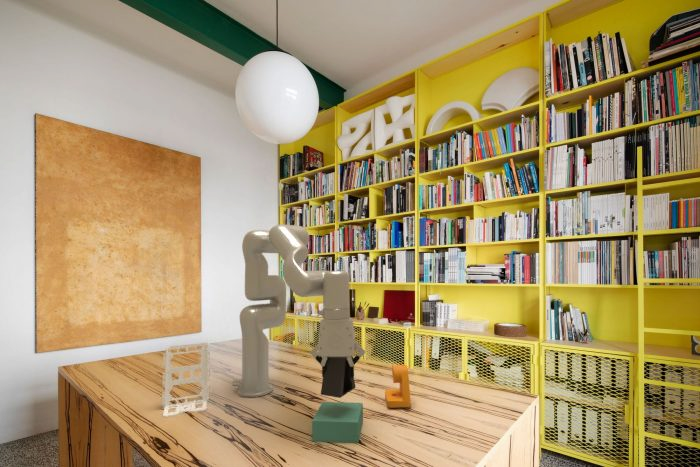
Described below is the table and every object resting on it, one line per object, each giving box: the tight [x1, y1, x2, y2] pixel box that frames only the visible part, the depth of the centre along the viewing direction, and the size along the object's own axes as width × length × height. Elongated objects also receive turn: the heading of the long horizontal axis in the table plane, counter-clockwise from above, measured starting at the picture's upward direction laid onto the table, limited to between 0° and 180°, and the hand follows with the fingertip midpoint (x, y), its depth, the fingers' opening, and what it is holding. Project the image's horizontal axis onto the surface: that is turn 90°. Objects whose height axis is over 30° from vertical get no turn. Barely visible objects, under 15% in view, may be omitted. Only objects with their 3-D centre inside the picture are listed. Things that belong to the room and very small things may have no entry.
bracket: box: [384, 364, 412, 408], centre depth 114 cm, size 11×7×12 cm, turn 179°
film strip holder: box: [161, 342, 211, 418], centre depth 116 cm, size 14×14×20 cm
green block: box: [311, 401, 364, 444], centre depth 96 cm, size 12×13×5 cm
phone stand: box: [320, 357, 356, 399], centre depth 97 cm, size 9×6×12 cm, turn 150°
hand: (338, 379), depth 97 cm, fingers closed on phone stand, 6 cm apart
